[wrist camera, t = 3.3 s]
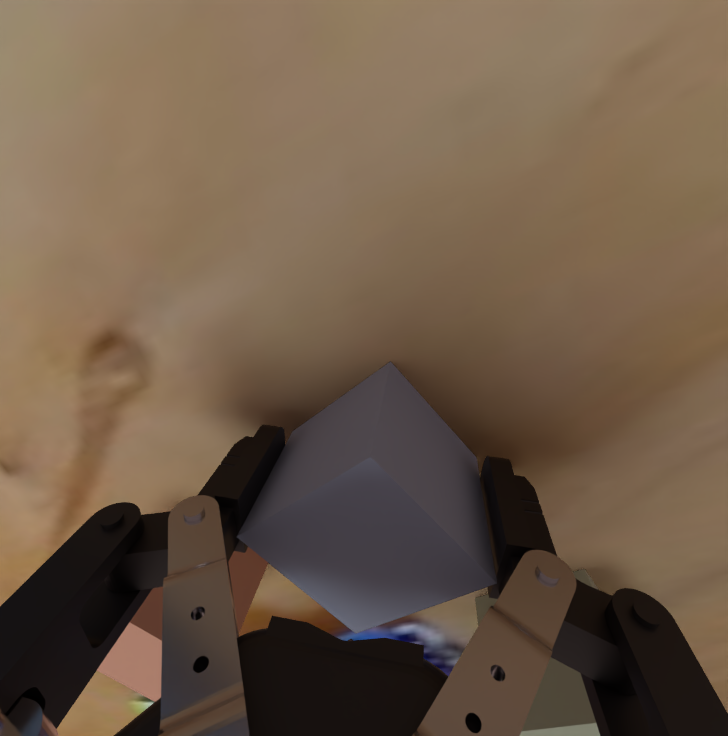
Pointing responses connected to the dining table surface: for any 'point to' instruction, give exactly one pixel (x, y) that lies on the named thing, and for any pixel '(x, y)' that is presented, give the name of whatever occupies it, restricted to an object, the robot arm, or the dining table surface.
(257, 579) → the terracotta cube
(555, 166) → the dining table surface
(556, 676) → the sage green cube
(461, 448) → the slate blue cube
